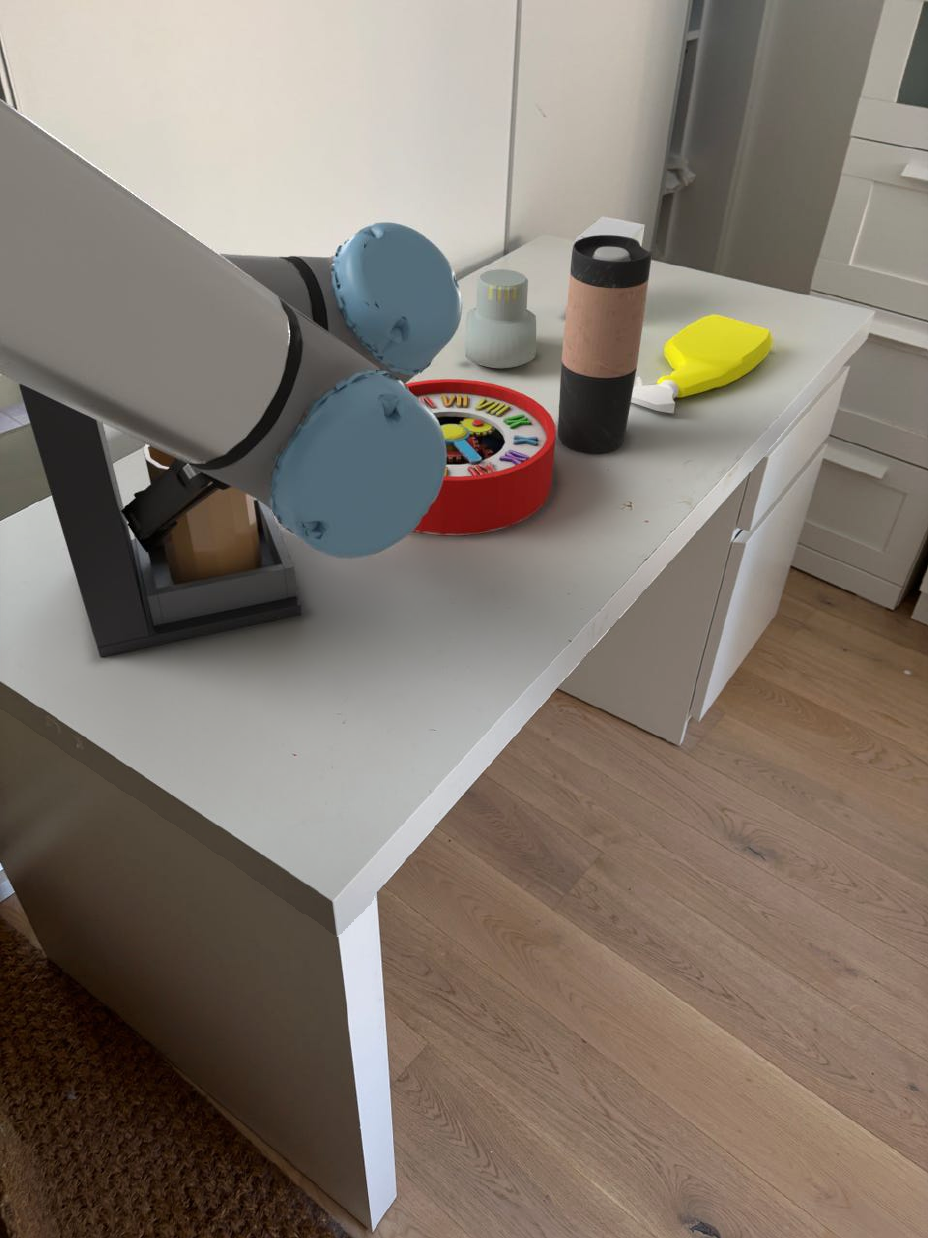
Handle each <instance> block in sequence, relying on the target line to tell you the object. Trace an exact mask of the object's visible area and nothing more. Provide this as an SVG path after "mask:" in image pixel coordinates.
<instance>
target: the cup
mask: <svg viewBox="0 0 928 1238" xmlns="http://www.w3.org/2000/svg"><path fill="white" fill-rule="evenodd" d="M142 451H143V457H144V462H145V466H146V470H147V475H148V479H149V485H150V484H151V483H152V482H154V481H155V480H156V479H157V478H158V477H159V476H160V475H161V474H163V473H164V472H165V471H166V470H167V469H168V468H169V467H170V466H171V465H172V463H173V462H174V460H175V459H176V458H175V457H173V456H171V455H168V454H166V453H164V452H162V451H160V450H158V449H156V448H154V447H152V446H150V445H148V444H145V445H144V446H143V448H142ZM176 522H177V525H176V526H175V527H174V528H173V529H172V530H171V531H170V532H169V533H168V534H167V535H166V537H165V538H164V539H163V544H164V548H165V553H166V557H167V562H168V566H169V571H170V575H171V579H172V582H173V583H174V585H178V584H183V583H188V582H193V581H198V580H203V579H208V578H213V577H218V576H223V575H228V574H233V573H239V572H244V571H249V570H254V569H259V568H262V557H261V550H260V543H259V536H258V529H257V522H256V515H255V508H254V501H253V497H252V496H250V495H248V494H246V493H244V492H242V491H240V490H238V489H236V488H234V487H231V488H228V489H226V490H221V489H218V490H217V491H215V492H214V493H213V494H211V495H210V496H209V497H207V498H206V499H204V500H203V501H202V502H200V503H199V504H198V505H196V506H195V507H194V508H192V509H191V510H189V511H188V512H187V513H185V514H184V515H183V516H181V517H180V518H178V519H177V520H176Z"/></svg>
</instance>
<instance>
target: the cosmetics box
mask: <svg viewBox="0 0 928 1238" xmlns="http://www.w3.org/2000/svg"><path fill="white" fill-rule="evenodd" d="M644 231H645V224H642V223H638V222H634V221H628V220H624V219H618V218H614V217H608V216H601V217H600V218H598V219H597V220H596V221H595V222H594V223H592V224H591V225H590V226H589V227H588V228H586V229H585V230H584V231H583V232H581V234H579V235H578V236H576V237H575V239H574V243H575V242H577V241H578V240H580V239H582V238H585V237H590V236H597V235H615V236H624V237H629V238H633V239H635V240H637V241H638V242H639V243H640V246H641V247H642V245H643V237H644Z"/></svg>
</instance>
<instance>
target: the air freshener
mask: <svg viewBox="0 0 928 1238" xmlns="http://www.w3.org/2000/svg"><path fill="white" fill-rule="evenodd" d="M476 285H477V286H476V289H477V290H476V307H473V308H472V309H470V310H469V311H467V312H466V316H465V344H464V345H465V346H464V347H465V348H464V356H465V357H466V358H467V359H469V360H470V362H471V361H472V362H473V363H475V364H477V365H480V366H483V367H485V368H491V369H512V368H516V367H519V366H522V365H525V364H527V363H529V362H531V361H532V360H534V359H535V357H536V352H537V351H536V350H537V316H536V314H535V313H533V312H532V311H530V310H529V309H527V308H528V291H529V290H528V289H529V280H528V278H527V277H526V275H525V274H523V273H522V272H519V271H516V270H513V269H506V268H505V269H504V268H503V269H502V268H501V269H499V268H498V269H491V270H487V271H484V272H482V273H481V274H480V275H479V276H478V277H477V284H476Z"/></svg>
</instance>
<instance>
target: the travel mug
mask: <svg viewBox="0 0 928 1238" xmlns="http://www.w3.org/2000/svg"><path fill="white" fill-rule="evenodd" d="M571 251H572V252H571V261H570V271H569V281H568V291H567V301H566V312H565V313H566V314H565V321H564V322H565V323H564V332H563V334H564V335H563V343H562V352H561V362H560V364H561V365H560V366H561V367H560V380H559V381H560V383H559V401H558V417H557V419H558V420H557V423H558V424H557V438H558V440H559V441H560V443H561V444H562V445H563V446H565V447H566V448H569V449H571V450H573V451H575V452H580V453H583V454H584V453H585V454H605V453H606V454H607V453H609V452H614V451H616V450H617V449H618V448H621V446H622V445H623V443H624V441H625V438H626V437H625V436H626V431H627V426H628V421H629V414H630V409H631V403H632V402H631V398H632V393H633V387H634V386H635V381H636V377H637V375H636V374H637V370H638V364H639V363H638V362H639V354H640V347H641V340H642V332H643V326H644V325H643V324H644V319H645V309H646V303H647V295H648V288H649V279H650V272H651V265H652V257H653V249H652V248H651V249H650V250H646V249H645V248H644V247H642V245H641V246H640V243H639V242H638V241H637V240H635V239H633V238H629V237H624V236H615V235H597V236H590V237H585V238H582V239H580V240H578V241H577V242H575V241H574V244H573V246H572V250H571Z"/></svg>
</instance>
